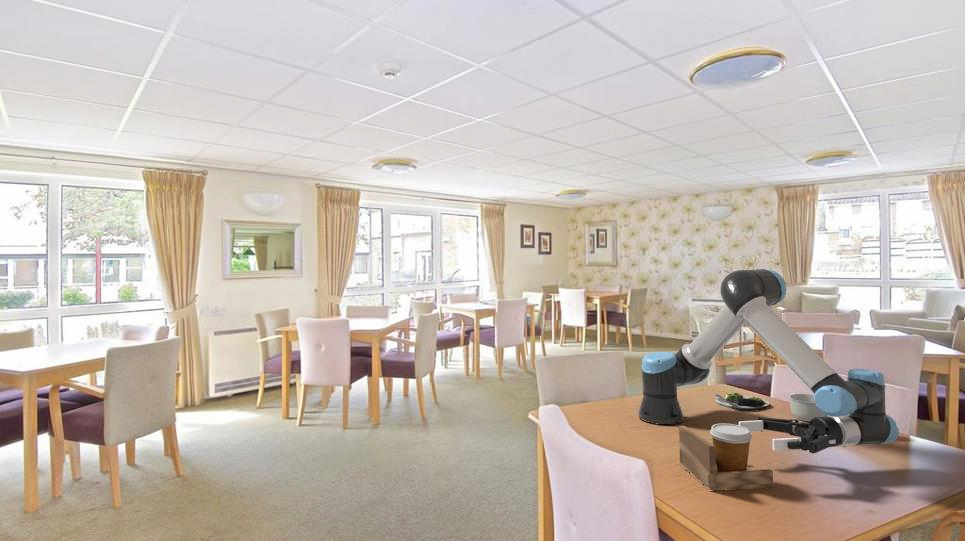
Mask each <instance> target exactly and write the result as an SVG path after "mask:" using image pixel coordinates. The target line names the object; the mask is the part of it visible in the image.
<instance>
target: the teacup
mask: <svg viewBox="0 0 965 541" xmlns="http://www.w3.org/2000/svg"><path fill="white" fill-rule="evenodd" d="M814 395H815V394H814V393H801V392H799V393H797V392H792V393H790V395H789V403H790V404H789V405H790V406H789V407H790V411H791V413H792V415H793V416H794V417H795V418H797V420H800V421H803V422H805V423H809V422H810V421H811V420H812V419H813V418H814V417H826V416H828V415H826V414H825V413H823V412H821V411H820V410H819V409H818V407H817V406H816V403H815V401H814Z"/></svg>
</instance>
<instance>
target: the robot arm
mask: <svg viewBox="0 0 965 541" xmlns="http://www.w3.org/2000/svg"><path fill="white" fill-rule="evenodd" d="M786 293H787V285H786V281H785V279H784V278H783V276H782V275H781V274H780V273H778V272H777V271H775V270H772V269H767V268H759V269H758V268H757V269H739V270H735V271H732V272H730V273H729V274H727V275H726V276H725V277H724V278H723V280H722V282H721V284H720V296H721V298H722V301H723V303H724V305H723V306H722V307H721V308H720V309H719V311H717V313H716V314H715V315H714V317H712V318H711V320H709V322H708V323H707V324H706V326H704V328H703V329H702V330H701V331H700V332H699V334H698V335H697V336H696V337H695V338H694V339H693V340H692V341H691V343H685V344H683V345H682V346H681V347H680V348H679V350H678V351H677V352H676V353H674V352H670V351H653V352H650V353H647V354H645V355H644V356H643V357H642V359H641V377H642V378H641V379H642V398H641V403H640V405H639V409H638V418H639V417H640V418H642V419H644V420H646V421H649V422H653V423H658V424H675V425H678V424H677V423H679V424H682V423H683V422H684V413H683V410H682V407H681V405H680V402H679V399H678V388H679V387H684V386H688V385H696V384H699V383H702V382H703V381H705V380H706V379H707V378H708V377H709V375H710V373H711V369H710V368H711V367H712V365H713V362H712V360H713V359H714V357H715V356H717V354H718V353H719V352H720V351H721V350H722V349H723V348H724V347H725V346H726V345H727V344H728V342H730V341H731V339H732V338H733V337H734V336H735V335H736V334H737V333H738V332H739V331H740V330H741V329H742V327H744V326H745V324H747V325H748V326H749V327H750V328H751V329H752V330H753V331H754V332H755V333H756V334H757V335H758V336H759V337H760V338H761V339H762V340H763V341H764V343H766V344H767V345H768V346H769V348H771V350H772V351H773V352H774V353H775V354H776V355H777V356H778V357H779V358H780V359H781V360H782V361H783V363H785V364H786V366H787V367H789V368H790V369H791V370H792V372H793V373H794V374H795V375H796V376H797V377H798V379H800V380H801V381H802V382H803V383H804V384H805V385H806V387H807V388H809V389H810V391H812V394H815V395H814V401H815V403H816V406H817V407H818V409H819V410H820V411H821V412H823V413H825V414H826V415H827V416H826V417H814V418H813V419H812V420H811V421H810V422H805V421H803V422H799V419H798V418H797V419H796V418H795V419H788V418H787V419H785V418H773V417H763V416H758V417H757V420H743V421H738V425H739V426H742V427H745V428H747V429H748V430H749V431H750V433H752V432H761V433H763V432H764V431H765V430H766V431H772V432H777V433H778V432H779V433H785V434H789V435H790V436H792V437H787V438H783V437H782V438H771V441H772V442H771V443H772V444H771V446H772V451H774V452H782V451H800V450H801V451H804V452H807V451H808V452H809V453H810V454H816V453H819V452H821V451H823V450H826V449H828V448H835V447H842V448H846V447H849V446H865V445H867V446H870V445H874V446H880V445H885V444H890V443H894V442H895V441H896V440H897V439H898V438H899V435H900V430H899V427H898V426H897V422H896V421H895V419H893V418H892V417H891V416H890V415H887V414H886V413H887V412H886V411H887V410H886V388H887V386H886V382H885V376H884V374H883V373H882V372H881V371H878V370H875V369H868V368H851V369H849V370H848V372H847V378H846V379H847V380H845V379H843V377H841V376H840V375H839V374H838V373H837V372H836V371H835V370H834V369H833V368H832V367H831V366H830V365H829V364H828V363H827V362H826V361H825V360H824V359H823V358H822V357H821V356H820V355H819V354H818V353H817V352H816V351H815V350H814V349H813V348H812V347H811V346H810V345H809V344H808V343H807V342H806V341H805V340H804V339H803V338H802V337H801V336H799V334H797V332H796V331H795V330H793V329H792V327H790V326H789V324H787V323H786V321H784V320H783V318H781V317H780V315H779V314H777V313H776V312H775V310H773V309H772V308H771V307H770V306H774V305H777V304H779V303H781V302H782V301H784V299H785V297H786ZM640 418H639V419H640ZM682 421H683V422H682ZM681 422H682V423H681ZM658 424H657V425H658Z"/></svg>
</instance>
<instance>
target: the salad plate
mask: <svg viewBox="0 0 965 541" xmlns="http://www.w3.org/2000/svg"><path fill="white" fill-rule="evenodd" d="M725 394H726V395H724V396H721V395H720V394H714V397H715V401H716V403H717V404H720V405H721V406H723V405H724V407H727V408H730V409H732V410H733V409H734V410H737V411H742V412H757V411H758V412H759V411H763V410H766V409H768V408H770V406H771V402H770V401H769V400H765V399H762V398H759V397H755V396H753V397H751V396H748V395H742V394H741V393H738V392H732V393H728V392H726V393H725Z"/></svg>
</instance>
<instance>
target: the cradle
mask: <svg viewBox="0 0 965 541" xmlns="http://www.w3.org/2000/svg"><path fill="white" fill-rule="evenodd" d="M678 439H679V440H678V441H679V465H680V464H681V465H682V466H683V467H684V468H686V469H687V470H688V471H689V472H691V473H692V474H693V475H694V476H695V477H696V478H697V479H698V480H700V481H701V482H702V483H703V484H704V485H705V486H706V487H708V488H709V489H710V490H725V489H727V490H725V491H730V490H729V489H733V490H732V491H737V490H736V489H740V490H751V489H752V490H753V489H754V488H756V489H770V488H769V487H771V488H774V471H773V470H772V469H770V468H769V469H768V468H767V469H756V470H754V469H752V468H751V467H749V466H748V465H747V471H735V472H719V473H718V470H717V464H716V458H715V446H714V445H713V443H711V442H710V441H708V440H706V438H704V437H702V436H701V435H700V434H698V433H696V432H695V431H693V430H691V429H690V428H688V427H687V426H685V425H678ZM698 480H697V481H698ZM704 485H703V486H704ZM705 486H704V487H705ZM706 487H705V488H706Z"/></svg>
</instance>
